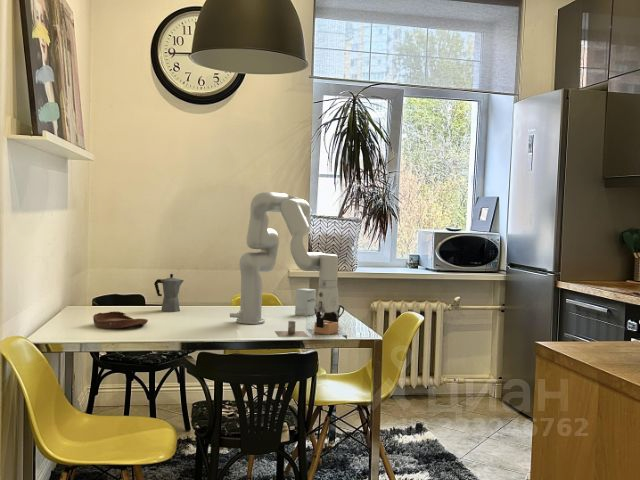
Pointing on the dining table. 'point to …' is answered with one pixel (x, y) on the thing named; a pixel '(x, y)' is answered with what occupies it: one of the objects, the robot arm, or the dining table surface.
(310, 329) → the base plate
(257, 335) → the dining table surface
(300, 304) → the supplement box
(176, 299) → the coffeepot
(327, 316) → the coffee mug
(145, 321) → the brown wooden bowl
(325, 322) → the collar
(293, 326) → the stand
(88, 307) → the dining table surface
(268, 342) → the dining table surface
